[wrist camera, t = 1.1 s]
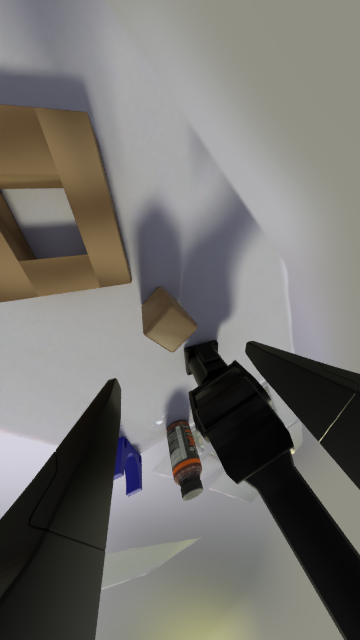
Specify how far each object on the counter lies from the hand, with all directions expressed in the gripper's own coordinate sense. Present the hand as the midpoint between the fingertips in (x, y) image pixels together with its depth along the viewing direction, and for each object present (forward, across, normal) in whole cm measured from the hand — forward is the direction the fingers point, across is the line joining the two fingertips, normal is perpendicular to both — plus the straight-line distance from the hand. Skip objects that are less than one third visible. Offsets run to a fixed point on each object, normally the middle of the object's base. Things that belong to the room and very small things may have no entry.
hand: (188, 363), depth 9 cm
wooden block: (+12, 0, 0) cm, 13 cm away
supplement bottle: (+13, +1, +33) cm, 35 cm away
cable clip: (+13, +15, +35) cm, 40 cm away
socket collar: (+12, +9, -10) cm, 18 cm away
